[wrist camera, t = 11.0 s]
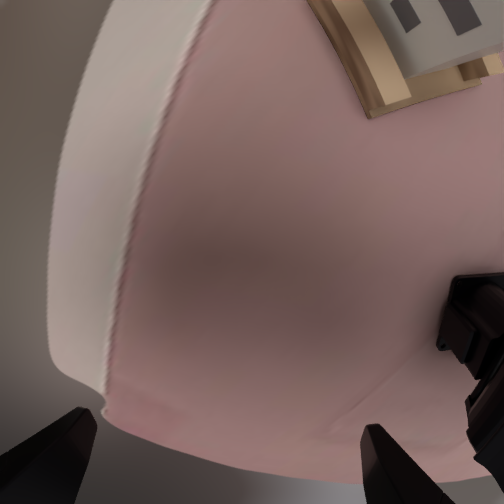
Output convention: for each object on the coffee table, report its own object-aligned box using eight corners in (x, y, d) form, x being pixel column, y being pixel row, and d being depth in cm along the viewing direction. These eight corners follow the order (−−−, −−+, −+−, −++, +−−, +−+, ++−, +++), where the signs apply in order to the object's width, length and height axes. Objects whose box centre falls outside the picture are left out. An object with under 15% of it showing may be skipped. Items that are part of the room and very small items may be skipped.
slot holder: (476, 85, 15) (508, 80, 11) (368, 119, 17) (389, 114, 13) (418, -26, 12) (440, -47, 9) (303, -5, 14) (309, -33, 11)
